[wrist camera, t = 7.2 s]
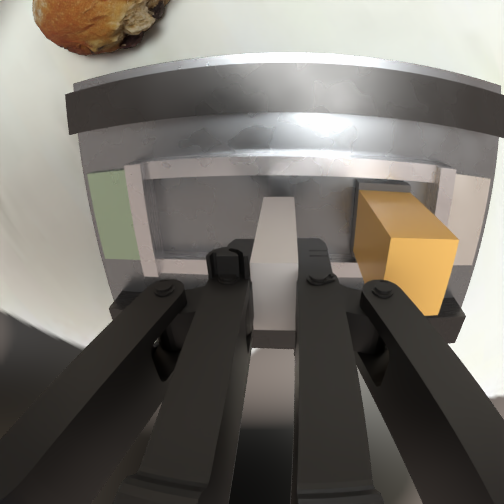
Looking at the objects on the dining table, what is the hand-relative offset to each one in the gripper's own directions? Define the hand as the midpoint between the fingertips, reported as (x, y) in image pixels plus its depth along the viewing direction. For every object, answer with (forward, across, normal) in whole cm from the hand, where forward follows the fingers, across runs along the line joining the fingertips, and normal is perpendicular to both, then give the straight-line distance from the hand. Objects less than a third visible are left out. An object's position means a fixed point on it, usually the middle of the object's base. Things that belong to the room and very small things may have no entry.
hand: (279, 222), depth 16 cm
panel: (+4, +1, 0) cm, 4 cm away
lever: (+2, +6, 0) cm, 6 cm away
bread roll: (+5, -10, +15) cm, 19 cm away
